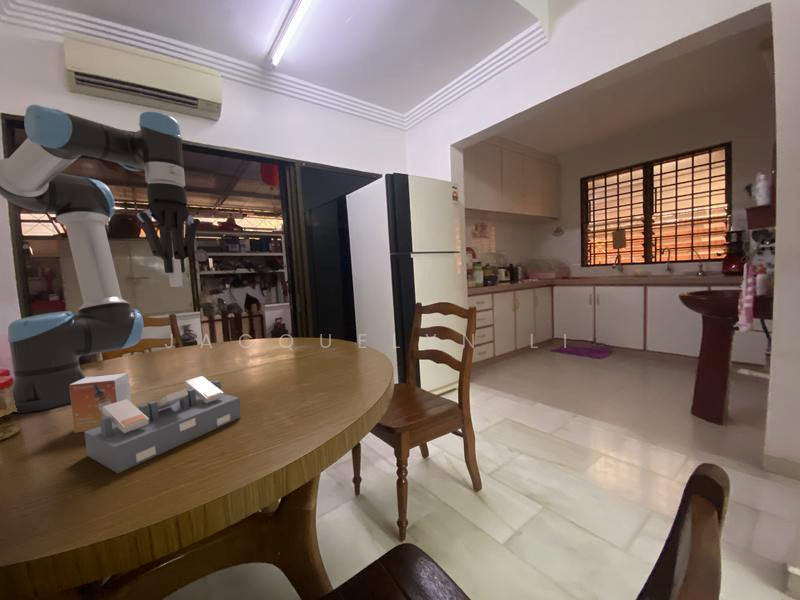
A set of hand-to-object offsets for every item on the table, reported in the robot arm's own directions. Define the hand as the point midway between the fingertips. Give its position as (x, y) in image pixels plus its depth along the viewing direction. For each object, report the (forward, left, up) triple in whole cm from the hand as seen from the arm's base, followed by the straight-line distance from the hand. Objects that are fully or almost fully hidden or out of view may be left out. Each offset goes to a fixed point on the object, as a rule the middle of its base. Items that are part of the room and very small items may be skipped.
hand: (176, 286), depth 77 cm
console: (+13, -10, -29) cm, 34 cm away
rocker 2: (+13, -10, -22) cm, 28 cm away
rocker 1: (+13, -17, -22) cm, 31 cm away
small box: (-6, -14, -30) cm, 33 cm away
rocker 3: (+13, -3, -22) cm, 26 cm away
